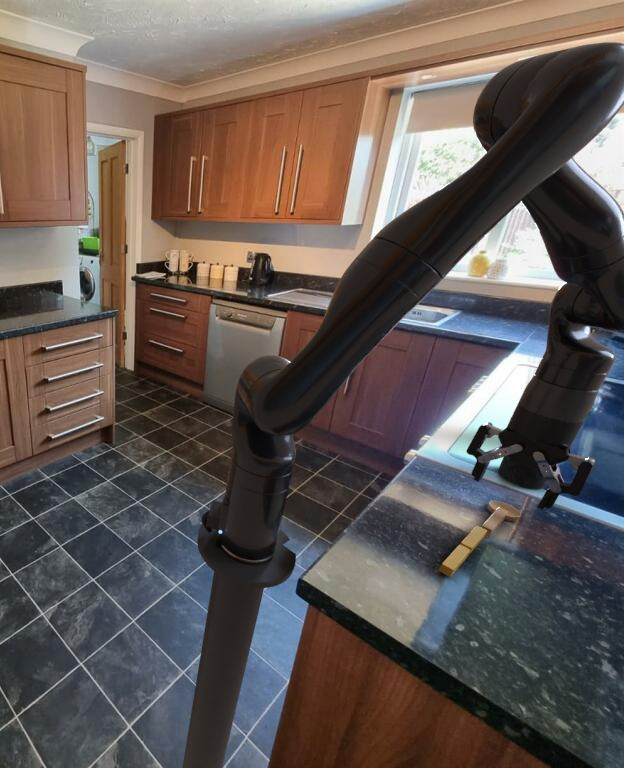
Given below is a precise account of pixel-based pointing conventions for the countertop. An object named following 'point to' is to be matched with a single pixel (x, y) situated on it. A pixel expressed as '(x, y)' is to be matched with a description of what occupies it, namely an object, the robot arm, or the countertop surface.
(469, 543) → the bar
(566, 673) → the countertop surface
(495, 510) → the spoon
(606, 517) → the countertop surface
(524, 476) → the travel mug
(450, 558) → the bar
